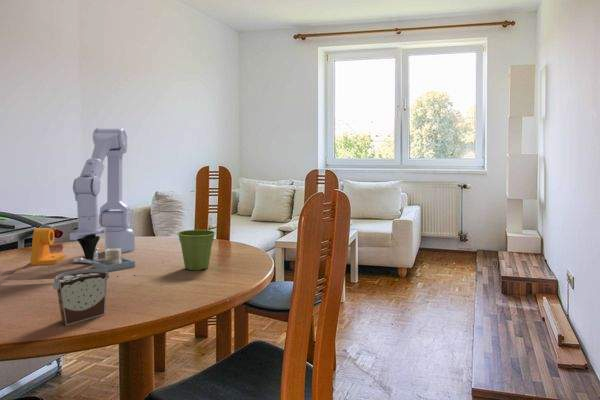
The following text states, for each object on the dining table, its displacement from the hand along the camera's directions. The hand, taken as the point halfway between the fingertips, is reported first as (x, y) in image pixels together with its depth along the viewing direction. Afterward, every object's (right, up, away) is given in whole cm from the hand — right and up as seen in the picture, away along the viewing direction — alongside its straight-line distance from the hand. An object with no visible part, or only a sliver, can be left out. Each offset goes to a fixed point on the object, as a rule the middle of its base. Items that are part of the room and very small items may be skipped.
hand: (89, 259), depth 162 cm
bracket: (-15, -3, +6) cm, 17 cm away
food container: (+16, -8, -47) cm, 50 cm away
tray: (+8, -3, -2) cm, 9 cm away
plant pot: (+33, -3, +1) cm, 33 cm away
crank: (-2, -1, +3) cm, 4 cm away
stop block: (+8, -3, -2) cm, 9 cm away
